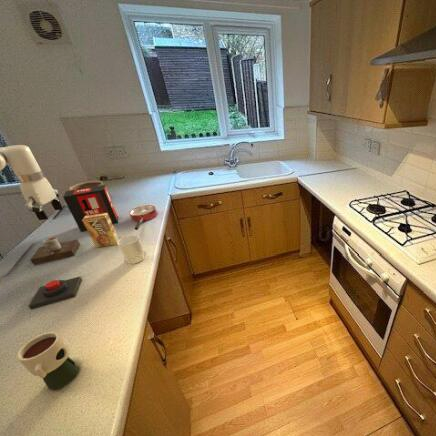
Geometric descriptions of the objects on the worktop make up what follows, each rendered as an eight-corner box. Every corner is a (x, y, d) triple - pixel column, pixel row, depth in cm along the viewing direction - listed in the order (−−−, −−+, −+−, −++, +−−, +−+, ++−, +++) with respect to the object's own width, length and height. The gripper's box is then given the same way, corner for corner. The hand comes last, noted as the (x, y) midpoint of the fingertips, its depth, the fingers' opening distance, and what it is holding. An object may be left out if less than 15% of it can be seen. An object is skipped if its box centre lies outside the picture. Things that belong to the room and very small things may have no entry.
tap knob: (46, 252, 104) (40, 242, 101) (50, 247, 107) (44, 237, 105) (59, 250, 106) (53, 239, 103) (62, 245, 109) (57, 235, 107)
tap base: (33, 265, 101) (29, 259, 100) (42, 252, 109) (38, 247, 108) (74, 255, 107) (71, 250, 105) (80, 244, 115) (77, 239, 113)
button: (45, 292, 83) (43, 288, 82) (49, 285, 86) (47, 281, 85) (59, 288, 84) (56, 285, 84) (62, 282, 87) (60, 278, 86)
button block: (31, 309, 80) (25, 302, 79) (42, 290, 88) (37, 283, 87) (75, 297, 85) (70, 289, 83) (82, 279, 93) (78, 272, 91)
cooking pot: (83, 198, 167) (75, 181, 161) (115, 193, 173) (108, 177, 167) (69, 212, 146) (59, 194, 140) (105, 207, 152) (97, 189, 146)
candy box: (119, 240, 118) (107, 212, 110) (117, 244, 114) (105, 216, 107) (98, 243, 115) (84, 215, 108) (95, 248, 112) (81, 219, 104)
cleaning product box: (117, 217, 140) (104, 184, 130) (118, 223, 133) (104, 189, 124) (82, 225, 132) (65, 191, 122) (81, 232, 125) (63, 196, 116)
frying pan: (160, 233, 122) (156, 222, 119) (130, 240, 117) (126, 229, 114) (156, 210, 147) (153, 200, 144) (132, 215, 142) (128, 205, 139)
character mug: (79, 388, 58) (53, 356, 52) (40, 407, 55) (8, 375, 49) (84, 352, 66) (62, 321, 60) (51, 367, 63) (24, 335, 57)
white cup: (150, 256, 105) (143, 237, 100) (132, 267, 99) (123, 247, 94) (139, 251, 109) (132, 233, 104) (121, 261, 103) (113, 241, 98)
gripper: (36, 171, 104) (55, 206, 112) (1, 184, 89) (26, 224, 97) (55, 170, 105) (73, 205, 113) (24, 183, 90) (47, 222, 98)
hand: (51, 214), depth 105 cm, fingers open, 9 cm apart
